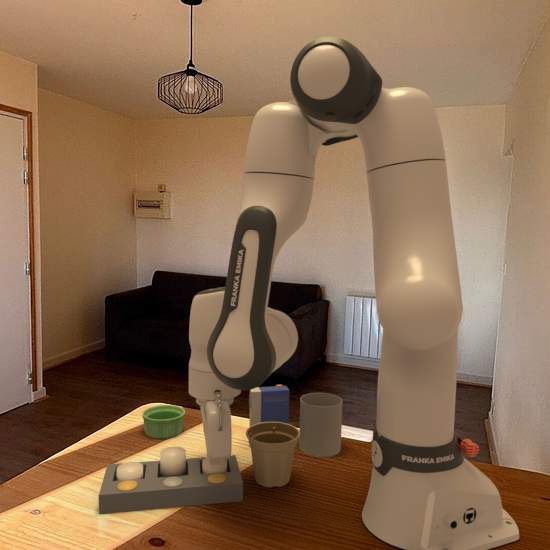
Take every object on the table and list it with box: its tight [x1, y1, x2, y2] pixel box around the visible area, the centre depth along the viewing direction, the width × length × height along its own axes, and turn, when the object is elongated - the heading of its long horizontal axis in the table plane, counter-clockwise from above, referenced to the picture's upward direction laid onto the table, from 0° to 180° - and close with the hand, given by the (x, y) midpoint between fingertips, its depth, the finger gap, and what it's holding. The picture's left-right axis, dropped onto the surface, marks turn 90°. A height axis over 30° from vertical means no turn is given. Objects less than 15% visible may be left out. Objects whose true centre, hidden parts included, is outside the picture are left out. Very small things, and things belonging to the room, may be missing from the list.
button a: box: [202, 456, 227, 474], centre depth 84 cm, size 4×4×3 cm
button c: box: [117, 461, 143, 481], centre depth 81 cm, size 4×4×3 cm
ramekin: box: [141, 404, 186, 440], centre depth 105 cm, size 9×9×4 cm
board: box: [98, 454, 244, 515], centre depth 81 cm, size 22×10×3 cm, turn 102°
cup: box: [298, 392, 343, 458], centre depth 99 cm, size 8×8×10 cm
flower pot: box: [245, 422, 300, 489], centre depth 86 cm, size 9×9×9 cm
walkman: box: [248, 384, 290, 449], centre depth 100 cm, size 8×3×12 cm, turn 104°
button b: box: [159, 446, 187, 477], centre depth 83 cm, size 4×4×3 cm
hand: (214, 460), depth 84 cm, fingers closed, pressing on button a
